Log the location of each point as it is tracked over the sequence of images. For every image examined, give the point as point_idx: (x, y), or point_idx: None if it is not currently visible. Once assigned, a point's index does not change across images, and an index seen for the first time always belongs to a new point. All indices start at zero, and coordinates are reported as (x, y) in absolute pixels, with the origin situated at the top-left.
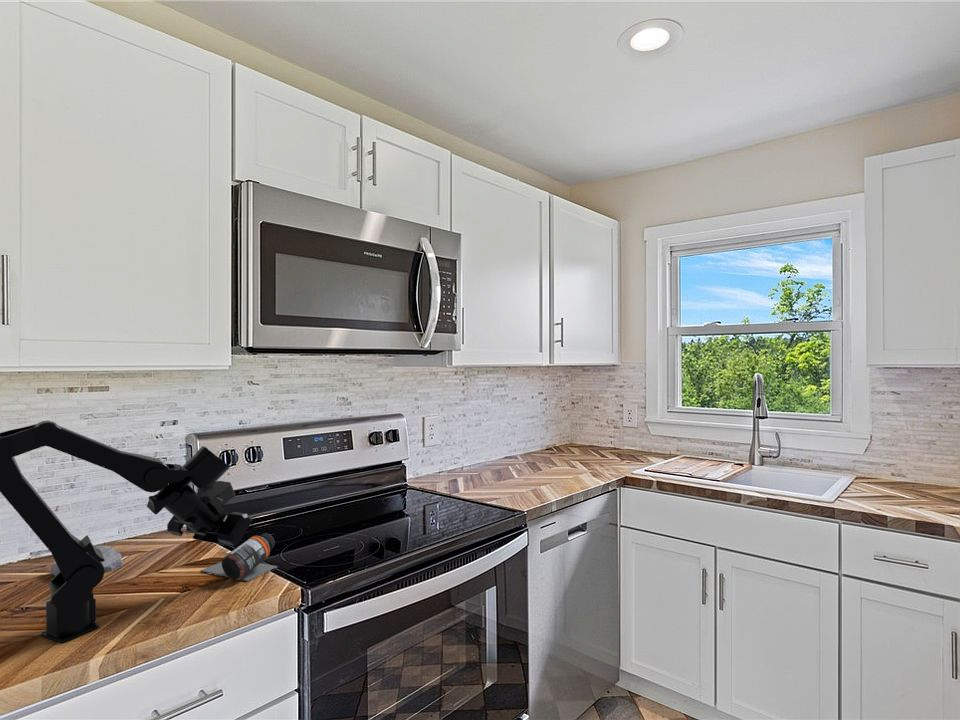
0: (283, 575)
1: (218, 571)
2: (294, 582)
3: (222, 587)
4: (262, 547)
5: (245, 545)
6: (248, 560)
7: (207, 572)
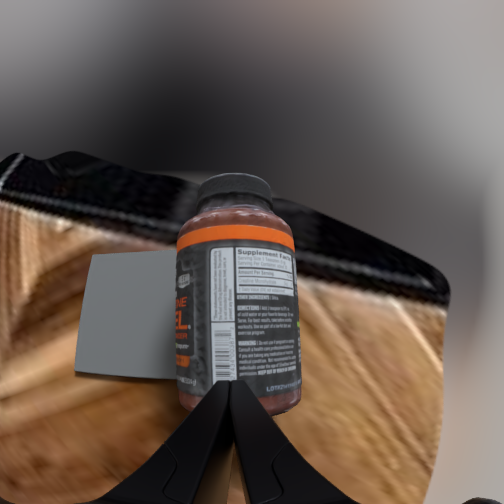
0: (341, 278)
1: (130, 359)
2: (409, 299)
3: None
4: (292, 257)
5: (244, 307)
6: (300, 353)
7: (101, 373)
